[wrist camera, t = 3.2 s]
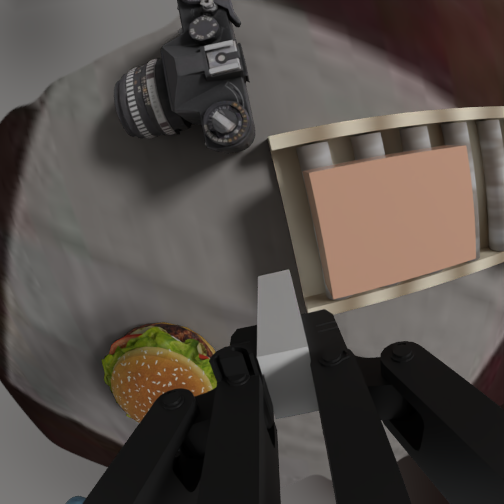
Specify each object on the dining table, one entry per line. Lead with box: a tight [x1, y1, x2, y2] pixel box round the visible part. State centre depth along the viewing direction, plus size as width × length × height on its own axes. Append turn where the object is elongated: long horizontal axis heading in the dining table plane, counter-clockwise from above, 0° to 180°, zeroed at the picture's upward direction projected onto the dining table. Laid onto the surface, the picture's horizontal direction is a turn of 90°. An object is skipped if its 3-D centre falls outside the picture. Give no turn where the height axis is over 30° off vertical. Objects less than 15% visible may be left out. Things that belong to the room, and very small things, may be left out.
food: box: [102, 322, 217, 423], centre depth 32 cm, size 14×14×8 cm
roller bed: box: [267, 106, 504, 314], centre depth 26 cm, size 33×17×8 cm, turn 104°
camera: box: [114, 0, 255, 153], centre depth 22 cm, size 14×11×10 cm
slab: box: [302, 145, 476, 299], centre depth 25 cm, size 14×10×4 cm
